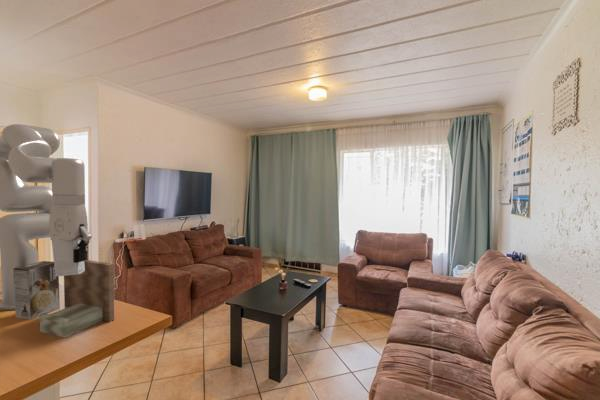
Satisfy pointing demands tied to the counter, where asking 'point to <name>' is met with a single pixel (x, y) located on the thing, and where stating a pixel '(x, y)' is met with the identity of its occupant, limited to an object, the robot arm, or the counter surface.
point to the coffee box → (36, 289)
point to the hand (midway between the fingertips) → (70, 259)
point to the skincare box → (65, 258)
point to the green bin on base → (83, 301)
